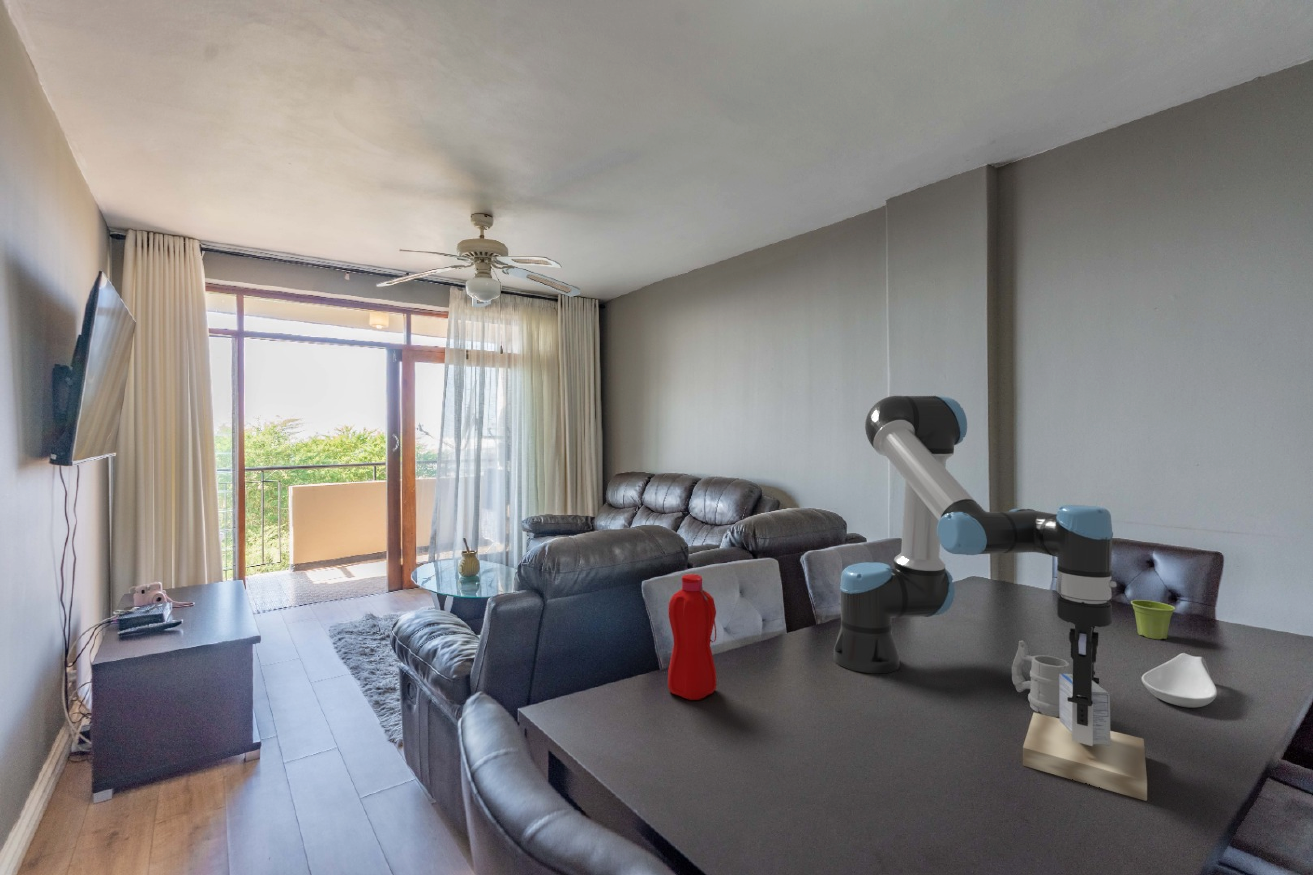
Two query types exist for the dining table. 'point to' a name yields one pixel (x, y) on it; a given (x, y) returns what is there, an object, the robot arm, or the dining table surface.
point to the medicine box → (1099, 709)
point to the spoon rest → (1182, 682)
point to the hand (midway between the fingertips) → (1083, 731)
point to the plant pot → (1152, 618)
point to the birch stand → (1087, 757)
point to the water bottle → (692, 640)
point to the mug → (1040, 679)
